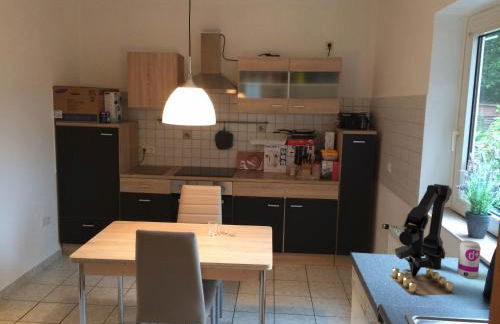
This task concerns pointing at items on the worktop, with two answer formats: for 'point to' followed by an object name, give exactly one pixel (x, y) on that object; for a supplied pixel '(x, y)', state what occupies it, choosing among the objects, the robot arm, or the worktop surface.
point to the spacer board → (425, 286)
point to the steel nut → (407, 273)
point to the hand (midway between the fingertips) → (413, 276)
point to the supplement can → (469, 259)
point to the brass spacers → (429, 275)
